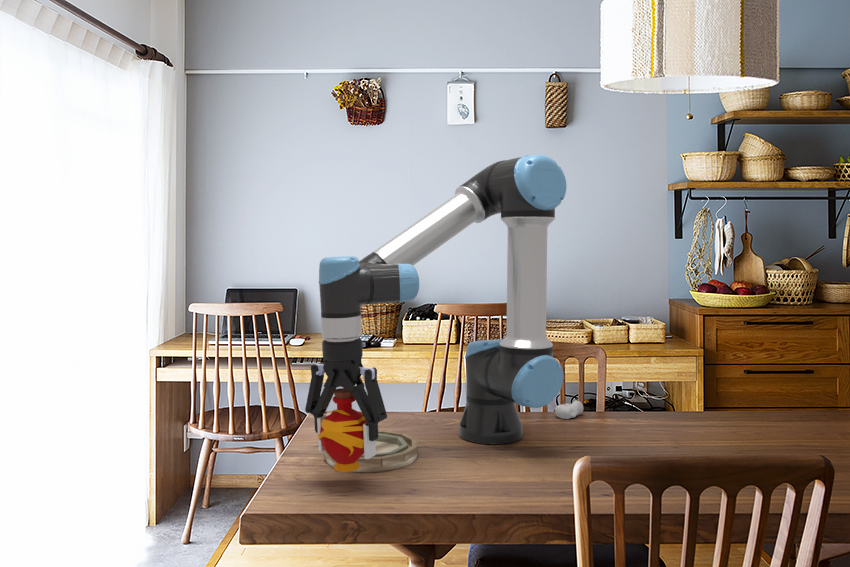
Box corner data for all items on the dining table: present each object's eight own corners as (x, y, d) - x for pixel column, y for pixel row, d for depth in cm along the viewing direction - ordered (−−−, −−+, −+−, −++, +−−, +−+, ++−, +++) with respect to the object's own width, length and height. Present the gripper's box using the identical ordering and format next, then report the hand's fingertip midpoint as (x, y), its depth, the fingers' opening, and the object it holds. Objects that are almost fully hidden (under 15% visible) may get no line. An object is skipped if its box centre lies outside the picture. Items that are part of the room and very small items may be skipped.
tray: (433, 449, 148) (433, 437, 148) (386, 478, 130) (385, 464, 130) (359, 437, 157) (359, 426, 157) (306, 462, 140) (305, 449, 140)
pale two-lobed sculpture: (562, 425, 171) (550, 415, 175) (586, 421, 174) (575, 411, 178) (565, 411, 169) (553, 401, 173) (590, 407, 172) (578, 397, 177)
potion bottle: (309, 468, 127) (305, 391, 126) (351, 454, 134) (348, 381, 133) (342, 481, 119) (338, 400, 118) (385, 466, 127) (382, 389, 125)
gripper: (403, 338, 123) (407, 454, 124) (307, 332, 133) (312, 439, 135) (381, 344, 116) (386, 468, 118) (282, 338, 127) (288, 451, 129)
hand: (346, 453), depth 126 cm, fingers closed on potion bottle, 10 cm apart
